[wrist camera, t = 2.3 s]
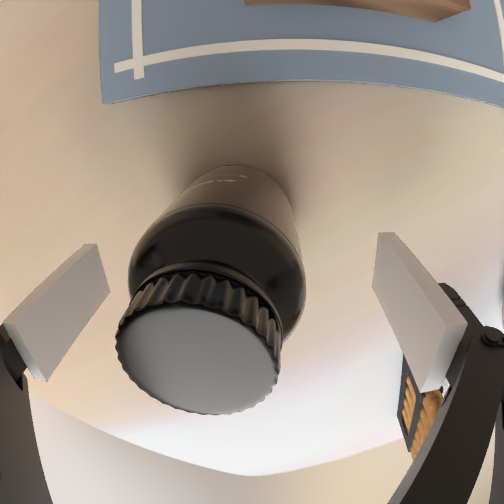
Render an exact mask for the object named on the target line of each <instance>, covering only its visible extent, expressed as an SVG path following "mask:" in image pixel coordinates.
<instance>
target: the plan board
mask: <svg viewBox="0 0 504 504" xmlns="http://www.w3.org/2000/svg"><path fill="white" fill-rule="evenodd" d="M470 5H471V9H470V10H468V11H465V12H462V13H459V14H456V15H454V16H451V17H448V18H446V19H443V20H441V21H438V22H436V23H434V22H430V21H426V20H422V19H418V18H413V17H409V16H404V15H399V14H394V13H388V12H382V11H376V10H369V9H361V8H352V7H342V6H329V5H309V4H269V5H249V6H245V2H244V0H99V54H100V75H101V89H102V102H103V104H112V103H116V102H121V101H125V100H130V99H134V98H139V97H144V96H149V95H155V94H160V93H166V92H172V91H178V90H185V89H192V88H200V87H208V86H217V85H227V84H239V83H253V82H274V81H333V82H353V83H367V84H378V85H388V86H397V87H405V88H412V89H419V90H425V91H431V92H437V93H442V94H448V95H453V96H458V97H462V98H467V99H471V100H475V101H479V102H484V103H487V104H491V105H495V106H499V107H502V108H504V0H470Z"/></svg>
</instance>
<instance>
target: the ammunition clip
mask: <svg viewBox="0 0 504 504" xmlns="http://www.w3.org/2000/svg"><path fill="white" fill-rule="evenodd" d="M442 393H443V387H442V385H441V387H440V389H438V390H433V391H428V392H423V393H420V392H419V389H418V387H417V384H416V382H415V379H414V377H413V374H412V372H411V370H410V367H409V365H408V363H407V360H406V358H405V356H404V353H403V364H402V376H401V386H400V395H399V404H398V411H397V417H398V420H399V423H400V426H401V429H402V433H403V436H404V439H405V442H406V446H407V449H408V452H411V455H412V458H413V461H414V459H415V458H416V456H417V454H418V452H419V450H420V448H421V446H422V444H423V442H424V441H425V439H426V437H427V435H428V433H429V430H430V428H431V426H432V424H433V422H434V420H435V418H436V416H437V413H438V411H439V409H440V406H439V405H440V403H441V401H442V400H443V396H442Z"/></svg>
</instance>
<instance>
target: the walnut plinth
mask: <svg viewBox="0 0 504 504" xmlns="http://www.w3.org/2000/svg"><path fill="white" fill-rule="evenodd" d="M244 2H245V6H249V5H269V4H309V5H329V6H342V7H352V8H361V9H369V10H376V11H382V12H388V13H394V14H399V15H404V16H409V17H413V18H418V19H422V20H426V21H430V22H434V23H436V22H438V21H441V20H443V19H446V18H448V17H451V16H454V15H456V14H459V13H462V12H465V11H468V10H470V9H471V5H470V0H244Z"/></svg>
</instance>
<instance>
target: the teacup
mask: <svg viewBox="0 0 504 504" xmlns="http://www.w3.org/2000/svg"><path fill="white" fill-rule="evenodd" d="M502 323H503V328H504V300H503V306H502Z"/></svg>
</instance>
